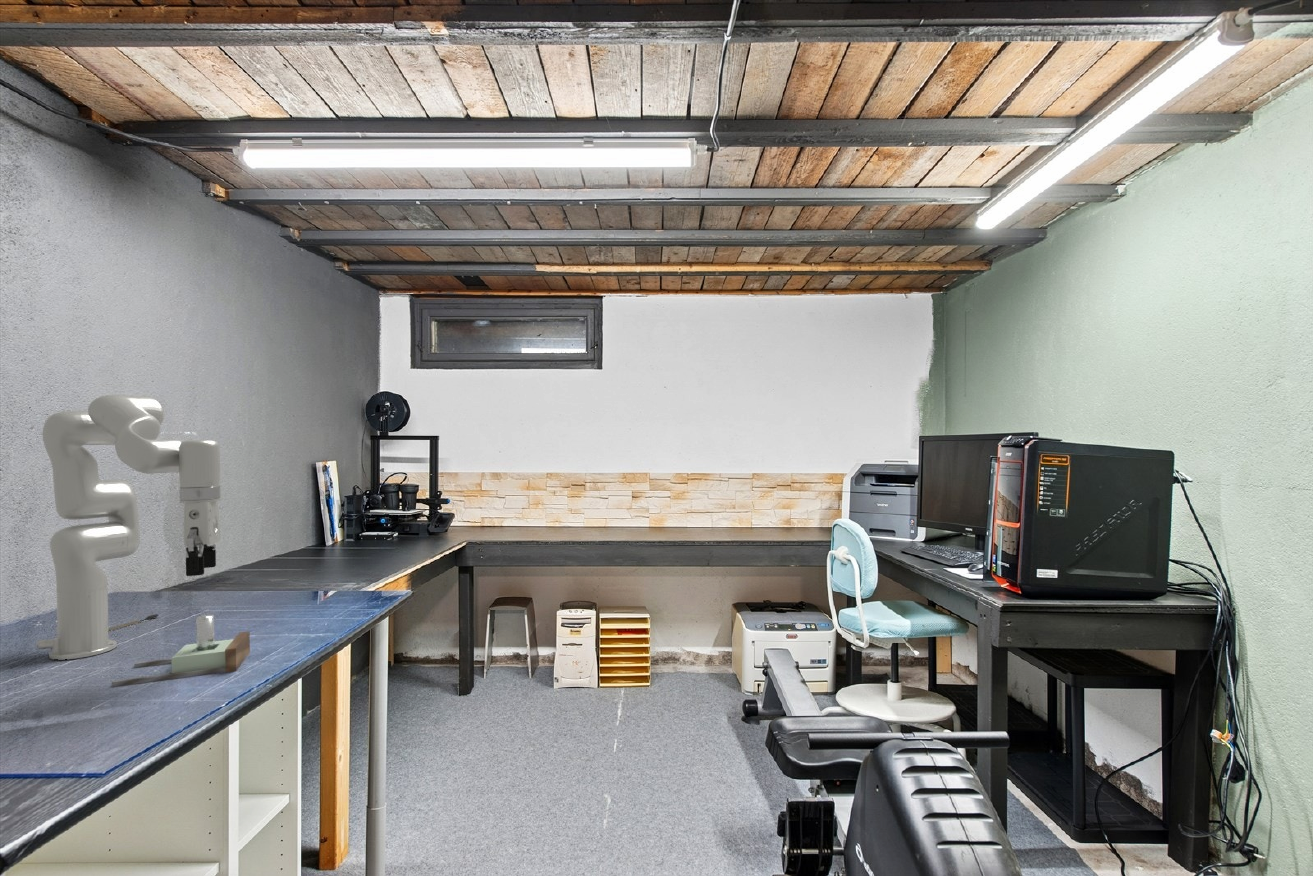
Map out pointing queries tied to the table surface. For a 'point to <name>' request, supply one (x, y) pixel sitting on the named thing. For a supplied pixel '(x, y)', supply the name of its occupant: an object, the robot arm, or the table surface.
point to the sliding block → (199, 657)
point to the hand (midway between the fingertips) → (201, 571)
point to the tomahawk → (133, 622)
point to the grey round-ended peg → (205, 632)
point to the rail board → (232, 662)
